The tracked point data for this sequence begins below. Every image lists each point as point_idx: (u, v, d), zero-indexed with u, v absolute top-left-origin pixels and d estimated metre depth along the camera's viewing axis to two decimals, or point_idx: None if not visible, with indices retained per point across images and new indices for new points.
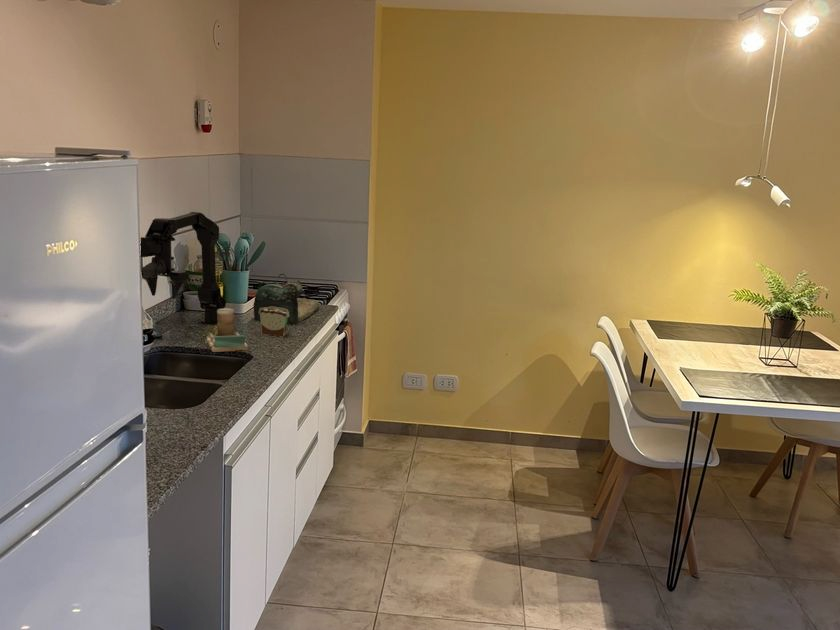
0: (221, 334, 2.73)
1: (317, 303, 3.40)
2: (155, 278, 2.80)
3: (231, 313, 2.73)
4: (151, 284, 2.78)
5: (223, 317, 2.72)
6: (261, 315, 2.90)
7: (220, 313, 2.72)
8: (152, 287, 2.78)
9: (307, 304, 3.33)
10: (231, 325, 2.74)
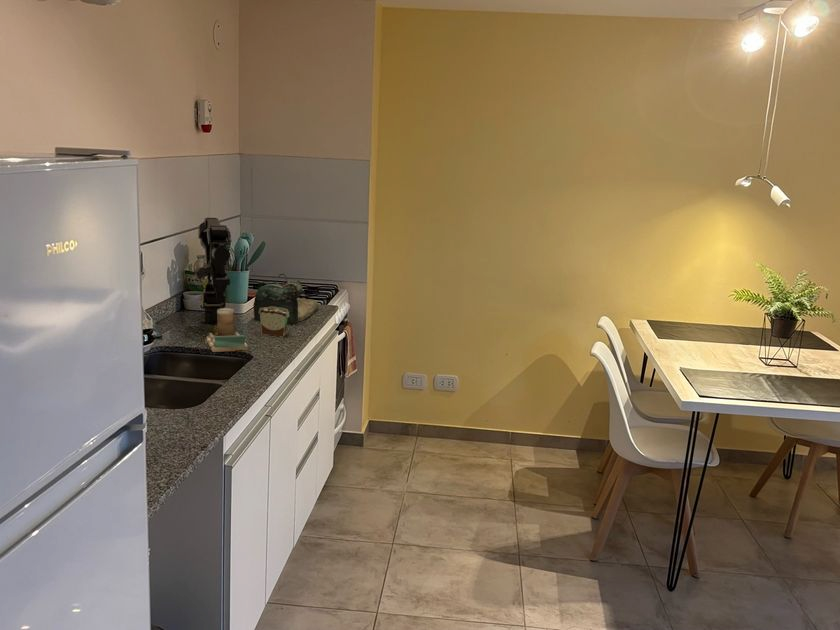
0: (221, 334, 2.73)
1: (316, 303, 3.41)
2: None
3: (231, 313, 2.73)
4: (215, 287, 2.92)
5: (223, 317, 2.72)
6: (261, 315, 2.90)
7: (220, 313, 2.72)
8: (215, 290, 2.92)
9: (307, 304, 3.33)
10: (231, 325, 2.74)
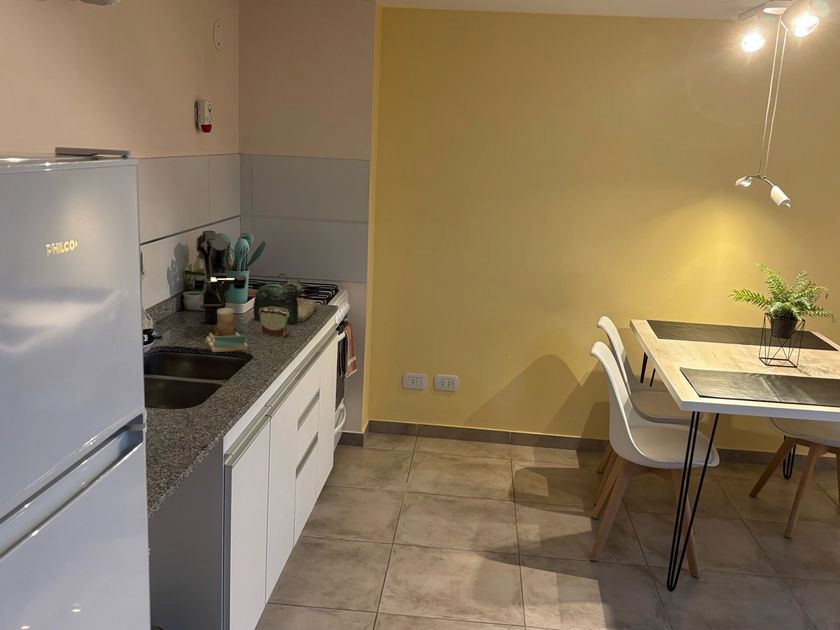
0: (221, 334, 2.73)
1: (315, 303, 3.41)
2: (222, 285, 2.84)
3: (231, 313, 2.73)
4: None
5: (223, 317, 2.72)
6: (261, 315, 2.90)
7: (220, 313, 2.72)
8: (221, 295, 2.84)
9: (306, 304, 3.33)
10: (231, 325, 2.74)
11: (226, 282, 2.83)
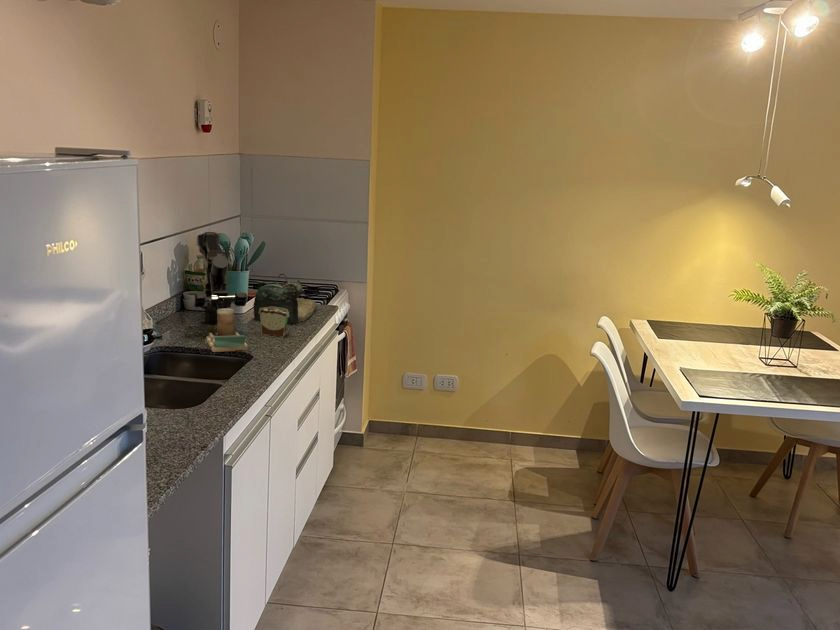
0: (221, 334, 2.73)
1: (315, 303, 3.41)
2: (223, 302, 2.83)
3: (231, 313, 2.73)
4: None
5: (223, 317, 2.72)
6: (261, 315, 2.90)
7: (220, 313, 2.72)
8: None
9: (306, 304, 3.33)
10: (231, 325, 2.74)
11: (227, 300, 2.82)
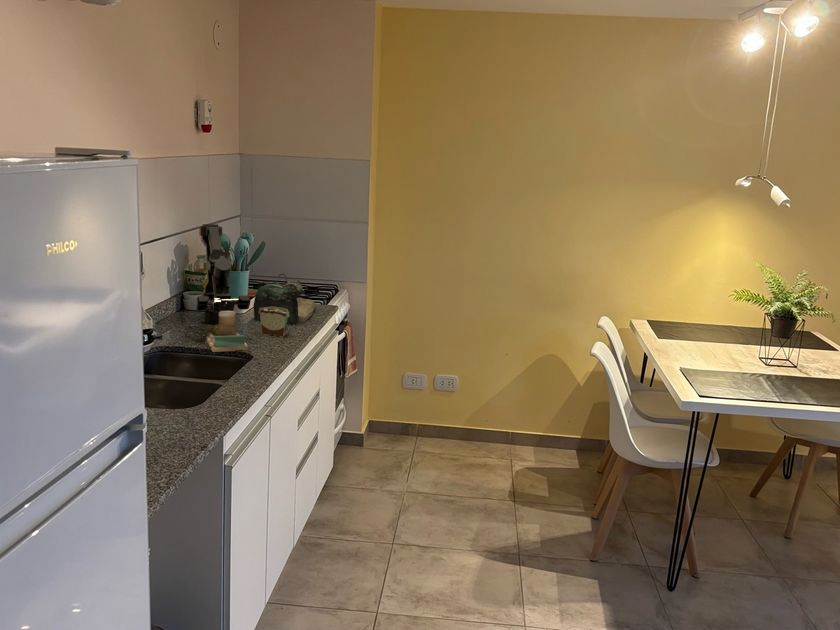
0: None
1: (314, 302, 3.41)
2: (226, 305, 2.76)
3: (233, 315, 2.70)
4: None
5: (225, 319, 2.68)
6: (261, 315, 2.90)
7: (222, 315, 2.68)
8: None
9: (306, 304, 3.33)
10: (233, 328, 2.71)
11: (230, 303, 2.76)
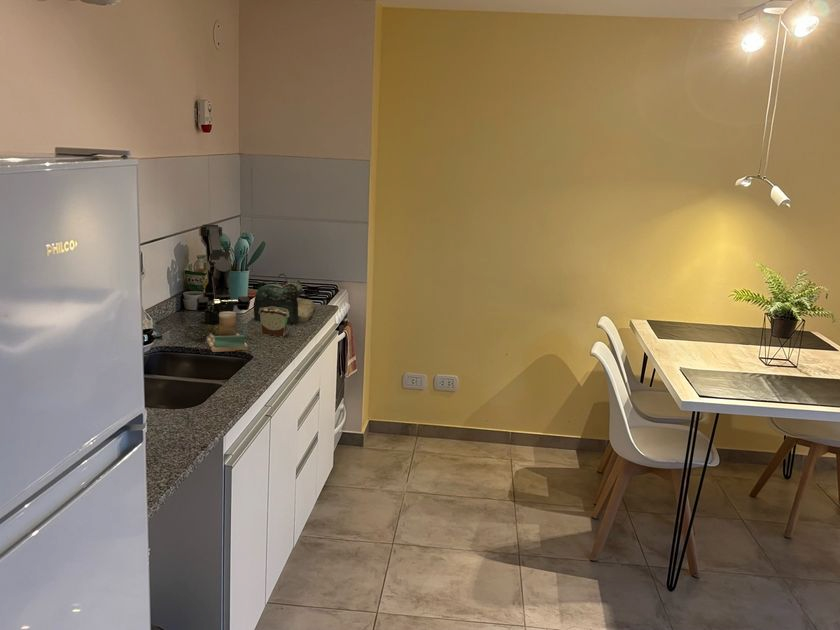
0: None
1: (312, 302, 3.41)
2: (226, 307, 2.77)
3: (233, 316, 2.69)
4: None
5: (225, 320, 2.67)
6: (261, 315, 2.90)
7: (222, 316, 2.67)
8: None
9: (306, 304, 3.33)
10: (233, 328, 2.70)
11: (230, 304, 2.77)
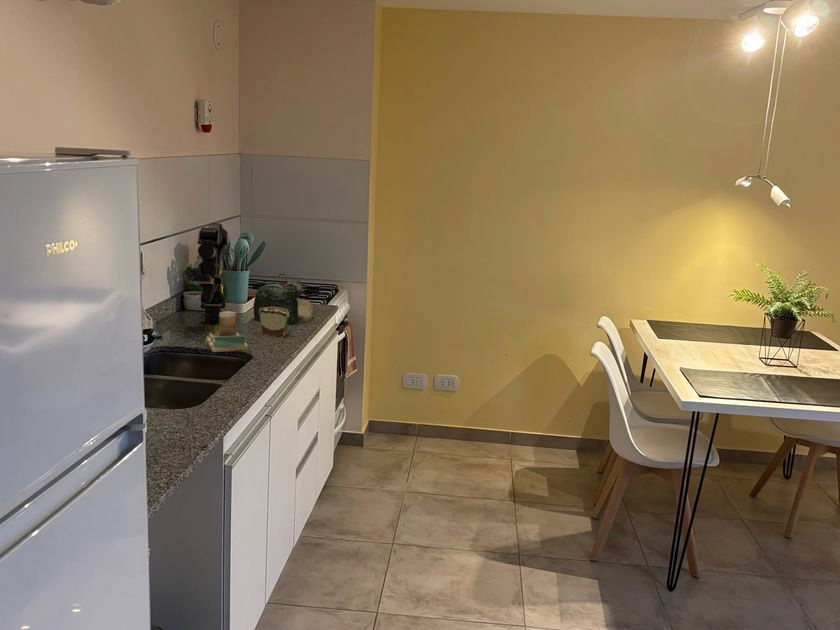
0: None
1: (310, 302, 3.41)
2: None
3: (233, 316, 2.69)
4: None
5: (225, 320, 2.67)
6: (261, 315, 2.90)
7: (222, 316, 2.67)
8: None
9: (305, 304, 3.33)
10: (233, 328, 2.70)
11: (217, 286, 2.91)
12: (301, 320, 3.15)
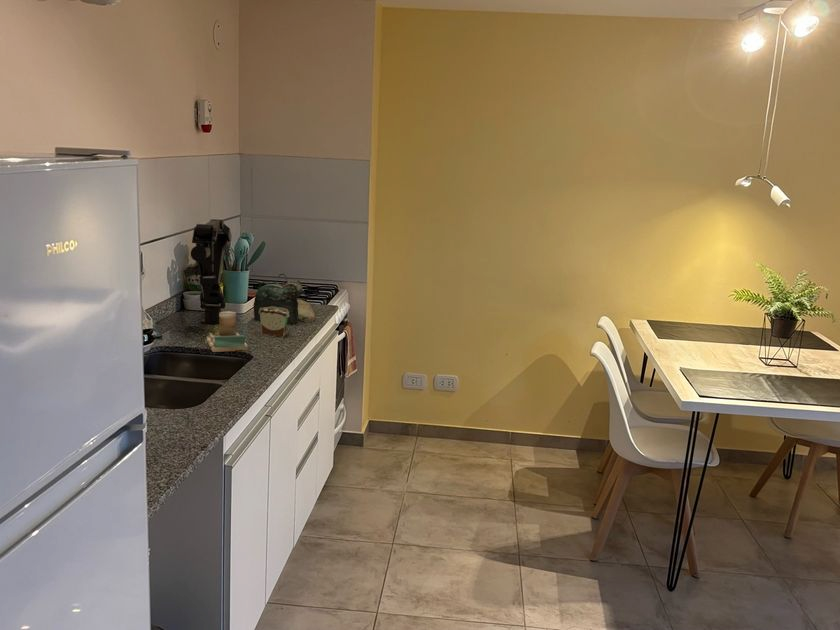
0: None
1: None
2: None
3: (233, 316, 2.69)
4: None
5: (225, 320, 2.67)
6: (261, 315, 2.90)
7: (222, 316, 2.67)
8: None
9: (304, 304, 3.33)
10: (233, 328, 2.70)
11: None
12: (306, 320, 3.15)
